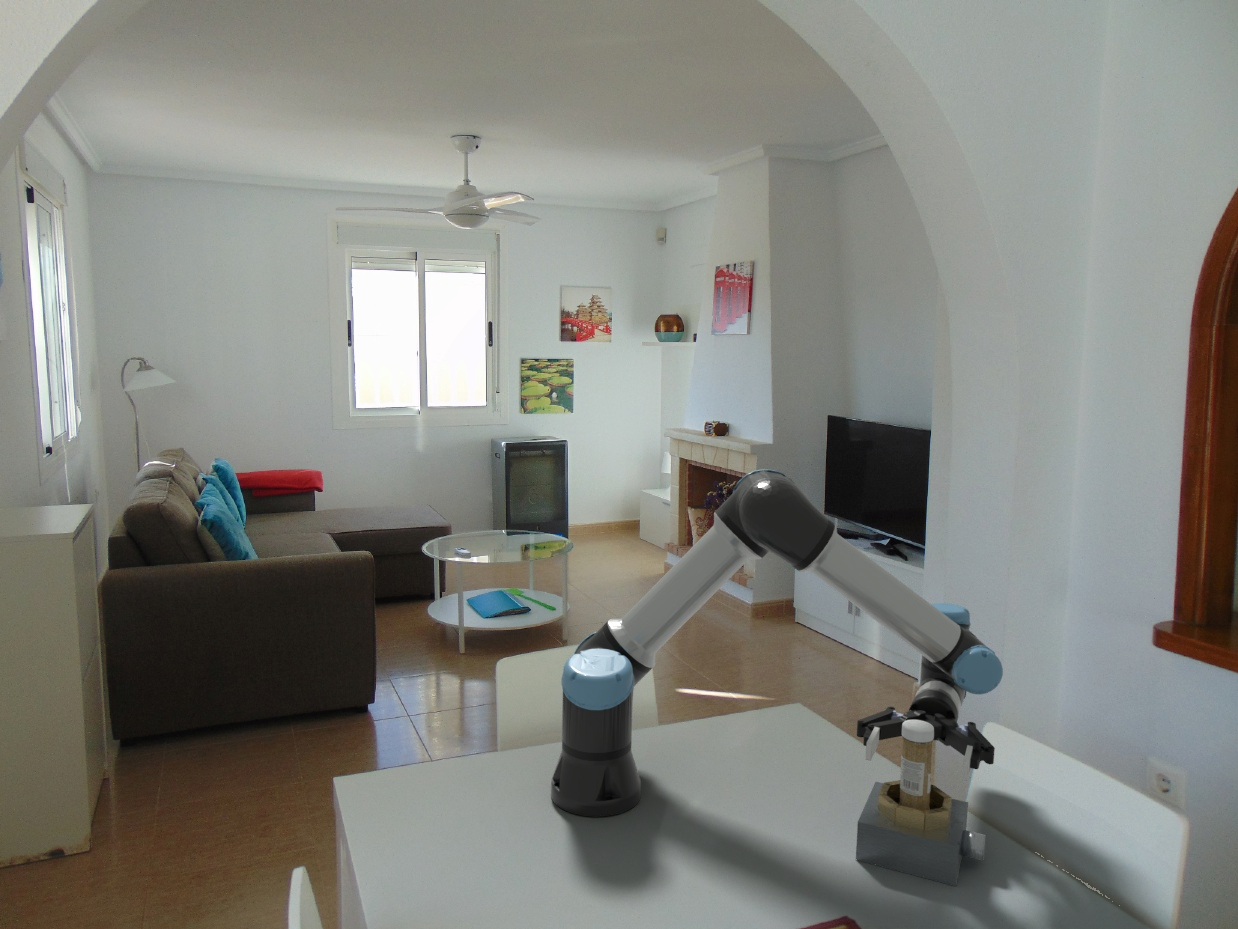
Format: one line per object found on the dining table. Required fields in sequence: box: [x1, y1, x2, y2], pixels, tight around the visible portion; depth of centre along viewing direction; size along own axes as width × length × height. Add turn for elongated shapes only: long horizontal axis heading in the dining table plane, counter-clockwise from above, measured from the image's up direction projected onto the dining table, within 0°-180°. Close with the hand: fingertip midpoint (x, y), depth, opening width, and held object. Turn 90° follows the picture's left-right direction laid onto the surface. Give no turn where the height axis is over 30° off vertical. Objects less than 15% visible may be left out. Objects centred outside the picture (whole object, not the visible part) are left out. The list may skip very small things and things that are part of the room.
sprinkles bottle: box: [899, 720, 934, 811], centre depth 133 cm, size 5×5×14 cm
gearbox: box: [855, 779, 987, 887], centre depth 133 cm, size 17×14×8 cm
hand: (915, 761), depth 130 cm, fingers open, 13 cm apart
